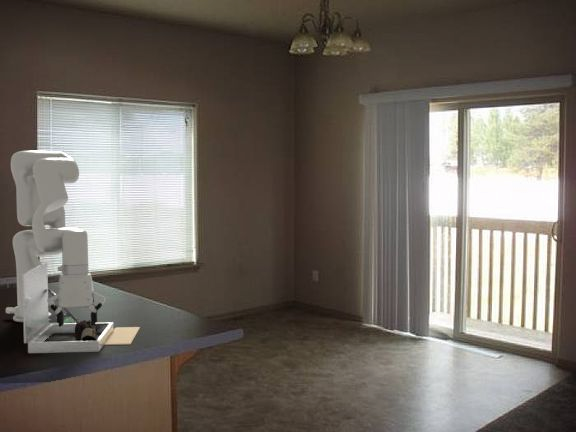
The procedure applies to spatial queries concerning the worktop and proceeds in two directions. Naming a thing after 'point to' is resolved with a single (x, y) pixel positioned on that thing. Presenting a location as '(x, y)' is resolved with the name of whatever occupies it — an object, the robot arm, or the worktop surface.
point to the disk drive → (66, 319)
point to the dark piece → (85, 331)
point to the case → (38, 319)
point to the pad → (122, 336)
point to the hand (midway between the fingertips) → (77, 325)
